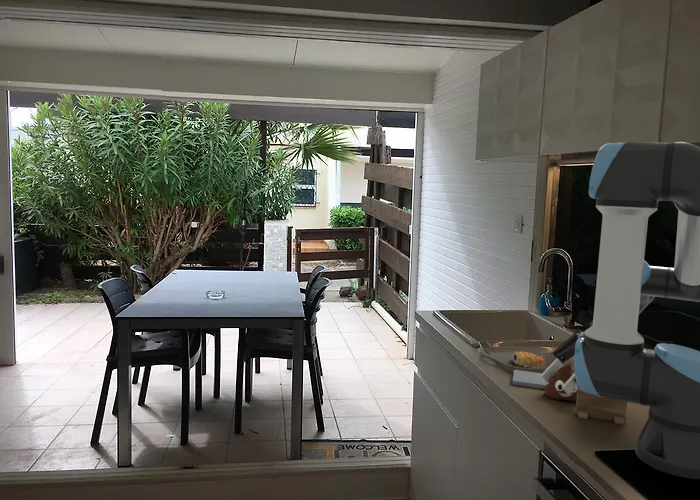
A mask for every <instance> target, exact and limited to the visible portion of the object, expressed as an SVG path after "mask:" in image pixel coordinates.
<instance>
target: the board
mask: <svg viewBox="0 0 700 500" xmlns="http://www.w3.org/2000/svg"><path fill="white" fill-rule="evenodd" d="M542 373H543V372H541V373H540V372H536V371H534V372H533V371H527V370H519V369H514V370H513V375H512V382H511V384H512V385H513V386H518V387H519V386H520V387H527V388H533V389H540V390H544V388H545V386H546V385H547V384H549V382H548V383H547V382H546V381H545V380H544V379H543V378H542V377H541V374H542Z"/></svg>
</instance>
